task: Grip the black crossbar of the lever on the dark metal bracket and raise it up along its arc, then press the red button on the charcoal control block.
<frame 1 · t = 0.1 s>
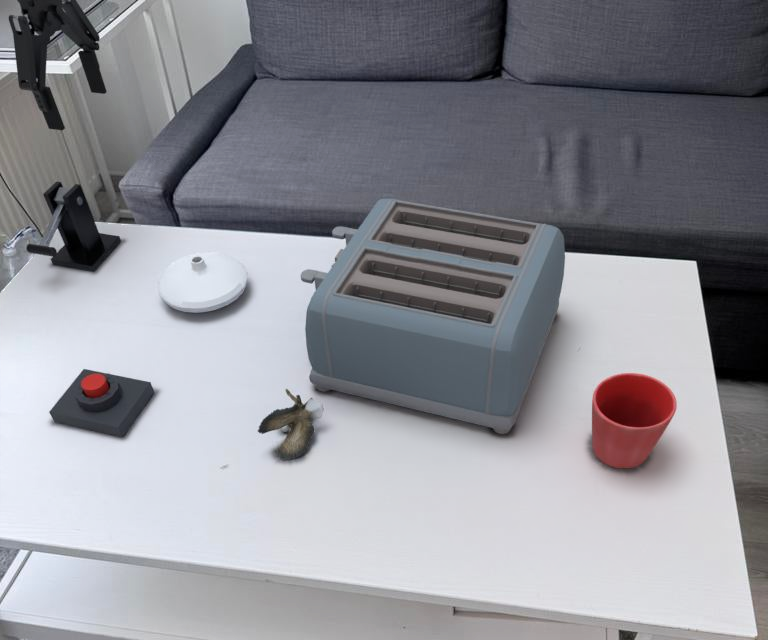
hand: (78, 110, 128), 23 cm above the table, tool pointing down, fingers open, 13 cm apart
flower pot: (619, 449, 106), on the table
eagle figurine: (294, 437, 111), on the table
bracket: (87, 253, 142), on the table
toaster: (428, 349, 121), on the table
lever: (54, 222, 132), point 9 cm above the table, hinge at -20.0°
control block: (105, 407, 116), on the table
button: (95, 385, 112), point 4 cm above the table, slide at 0.1 cm
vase: (206, 295, 132), on the table
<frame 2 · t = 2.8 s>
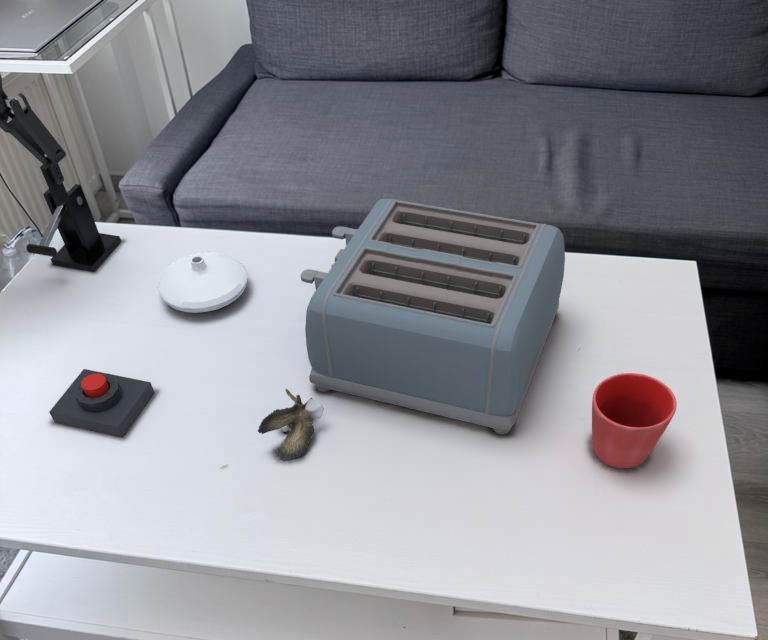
hand: (27, 197, 124), 16 cm above the table, tool pointing down, fingers open, 13 cm apart
nothing on the table moved.
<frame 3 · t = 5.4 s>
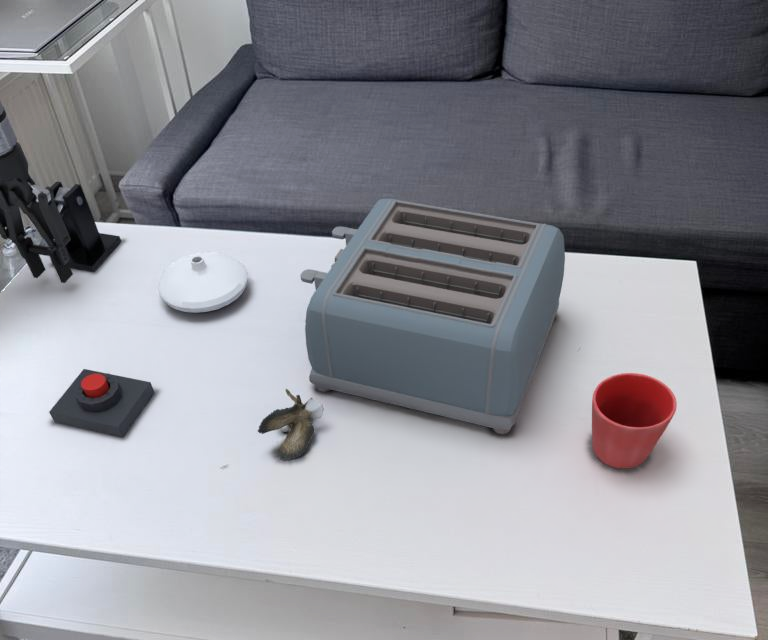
hand: (53, 275, 134), 2 cm above the table, tool pointing down, fingers closed on lever, 5 cm apart
lever: (54, 222, 132), point 9 cm above the table, hinge at -20.0°, touching gripper
everything else where it was.
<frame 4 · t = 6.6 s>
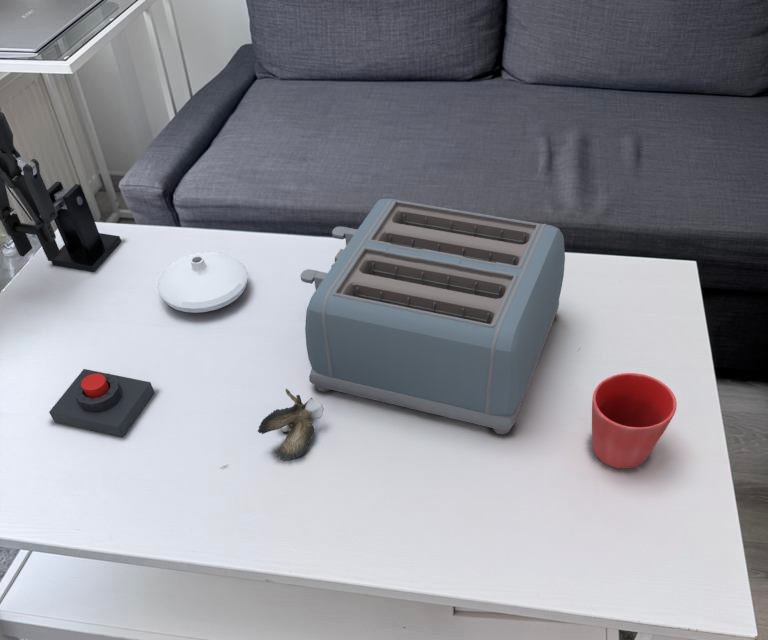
hand: (40, 254, 130), 7 cm above the table, tool pointing down, fingers closed on lever, 5 cm apart
lever: (48, 212, 130), point 11 cm above the table, hinge at 3.9°, touching gripper
everything else where it was.
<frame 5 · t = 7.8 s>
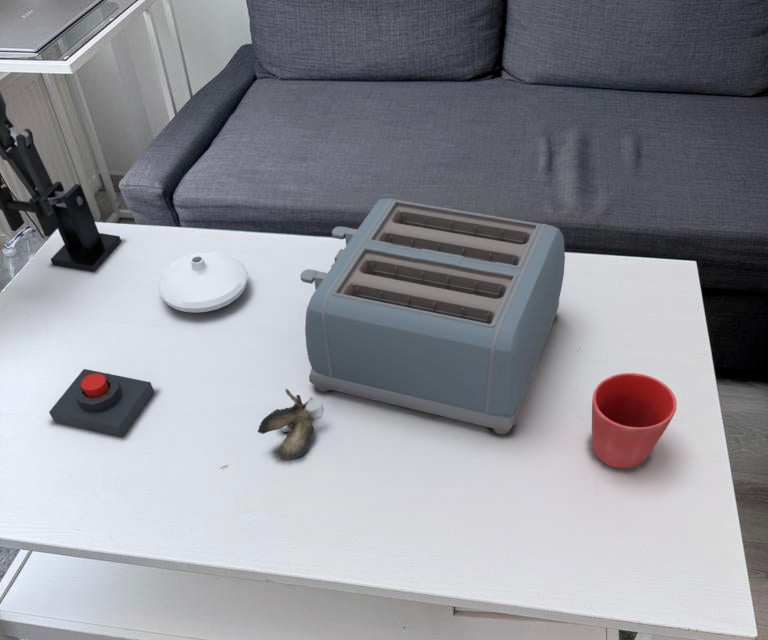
hand: (34, 229, 127), 11 cm above the table, tool pointing down, fingers open, 6 cm apart
lever: (46, 202, 129), point 13 cm above the table, hinge at 23.5°
everything else where it was.
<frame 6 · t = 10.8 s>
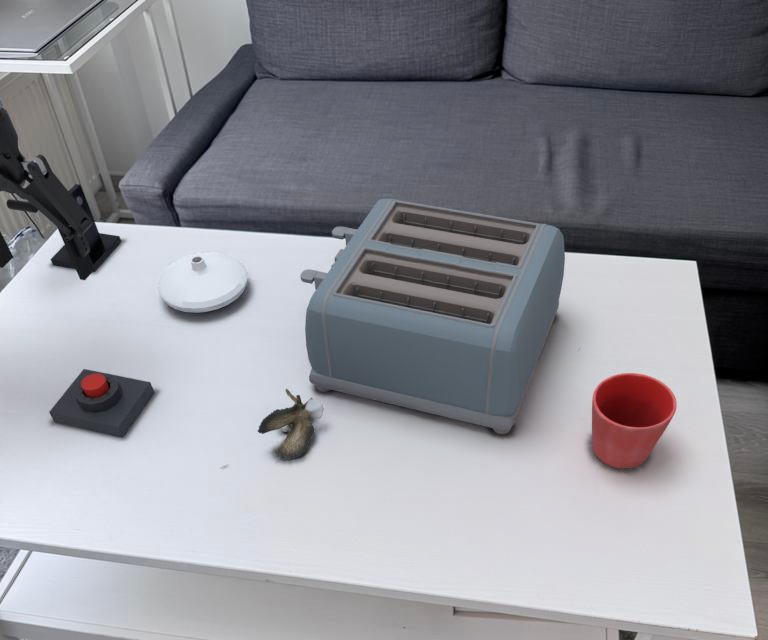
hand: (46, 268, 106), 19 cm above the table, tool pointing down, fingers open, 13 cm apart
nothing on the table moved.
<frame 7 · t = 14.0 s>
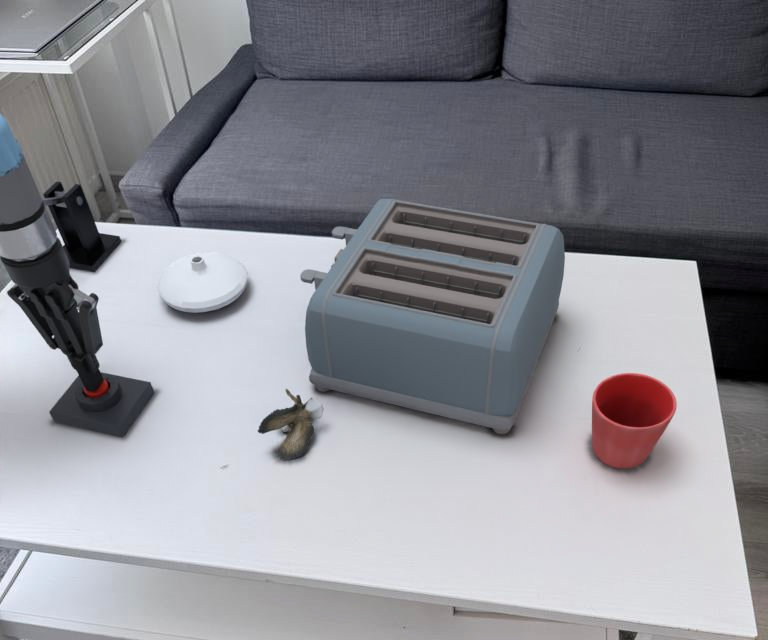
hand: (95, 385, 112), 5 cm above the table, tool pointing down, fingers closed
button: (97, 390, 113), point 4 cm above the table, slide at -0.8 cm, touching gripper
everything else where it was.
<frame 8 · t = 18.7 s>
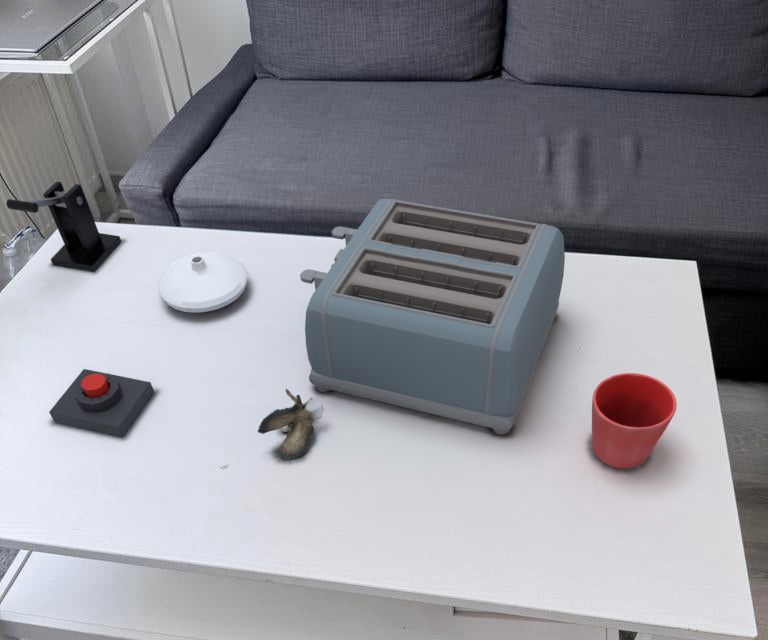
button: (95, 385, 112), point 4 cm above the table, slide at 0.1 cm
everything else where it was.
at the end: lever at +24° (first picture: -20°); button pushed in 1.0 cm at the most during the clip, back to where it started at the end; button slide at 0.1 cm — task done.
